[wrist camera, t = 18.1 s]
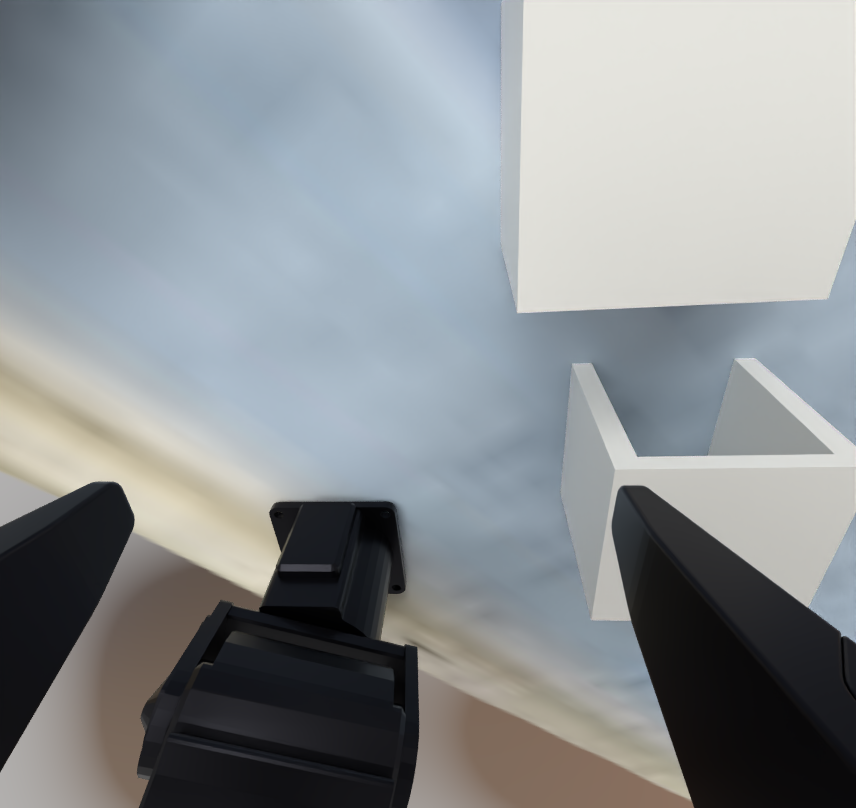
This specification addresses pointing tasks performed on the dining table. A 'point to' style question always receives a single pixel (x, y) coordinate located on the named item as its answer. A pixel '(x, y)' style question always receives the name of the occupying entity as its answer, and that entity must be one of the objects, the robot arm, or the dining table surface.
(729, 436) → the cover
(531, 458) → the dining table surface
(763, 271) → the cover
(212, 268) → the dining table surface
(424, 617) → the dining table surface
